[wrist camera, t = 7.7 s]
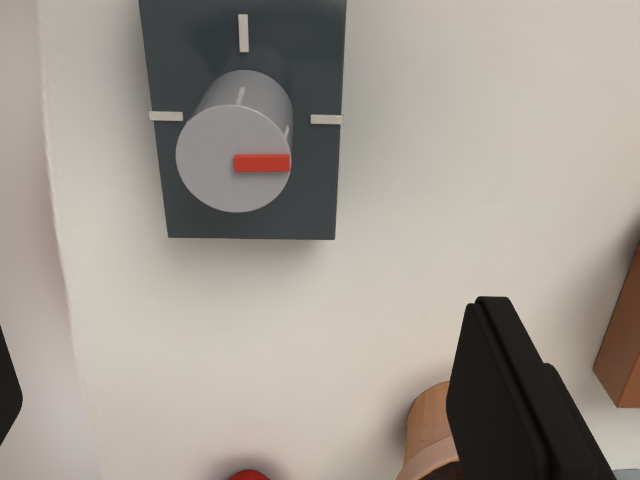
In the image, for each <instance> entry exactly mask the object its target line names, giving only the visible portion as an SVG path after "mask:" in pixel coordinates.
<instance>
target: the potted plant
mask: <svg viewBox="0 0 640 480" xmlns="http://www.w3.org/2000/svg"><path fill="white" fill-rule="evenodd" d="M449 383H450V382H445V383H441V384H438V385H435V386H433V387H432V388H430V389H428V390H426V391H425V392H424V393H423V394H422V395H420V396H419V397H418V398H417V399H416V400H415V402H414V404H413V407H412V409H411V411H410V413H409V416H408V420H407V433H408V435H407V443H406V450H405V457H404V464H403V469H402V470H401V472H400V473H399V475H398V477H397V479H396V480H465V479H464V476H463V472H462V469H461V465H460V462H459V458H458V455H457V451H456V447H455V444H454V440H453V437H452V433H451V430H450V426H449V423H448V419H447V415H446V396H447V392H448V387H449Z"/></svg>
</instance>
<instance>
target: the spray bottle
mask: <svg viewBox="0 0 640 480" xmlns="http://www.w3.org/2000/svg"><path fill="white" fill-rule="evenodd" d="M613 473H614V475H615V477H616V479H617V480H640V470H637V469H632V470H615V471H613Z"/></svg>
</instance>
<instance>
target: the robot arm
mask: <svg viewBox="0 0 640 480" xmlns="http://www.w3.org/2000/svg"><path fill="white" fill-rule="evenodd" d="M22 401H23V397H22V391H21V388H20V385H19V382H18V379H17V376H16V373H15V370H14V367H13V364H12V360H11V358H10V354H9V351H8V348H7V345H6V342H5V339H4V335H3V333H2V329H1V326H0V445H1V444H2V442H3V440H4V439H5V437H6V435H7V433H8V432H9V430H10V428H11V426H12V424H13V423H14V421H15V419H16V418H17V416H18V414H19V412H20V410H21V407H22ZM446 415H447V419H448V423H449V426H450V430H451V433H452V437H453V440H454V444H455V447H456V451H457V455H458V458H459V462H460V465H461V469H462V472H463V476H464V479H465V480H617V479H616V477H615V475H614V473H613V471H612V470H611V468H610V466H609V464H608V462H607V461H606V459H605V457H604V455H603V453H602V452H601V450H600V448H599V446H598V444H597V442H596V441H595V439H594V437H593V435H592V433H591V432H590V430H589V428H588V426H587V424H586V422H585V421H584V419H583V417H582V415H581V413H580V412H579V410H578V408H577V406H576V404H575V403H574V401H573V399H572V397H571V395H570V393H569V392H568V390H567V388H566V386H565V384H564V383H563V381H562V379H561V377H560V375H559V373H558V372H557V370H556V369H555V368H554V366H552V365H551V364H549V363H543V361H542V359H541V358H540V356H539V354H538V352H537V350H536V348H535V346H534V344H533V343H532V341H531V339H530V337H529V335H528V333H527V331H526V329H525V327H524V326H523V324H522V322H521V320H520V318H519V316H518V314H517V312H516V310H515V309H514V307H513V305H512V303H511V301H510V300H509V298H507V297H487V296H479V297H477V299H476V301H475V303H469V304H467V306H466V309H465V314H464V318H463V323H462V327H461V332H460V337H459V341H458V346H457V350H456V355H455V360H454V364H453V369H452V373H451V378H450V383H449V387H448V392H447V396H446Z"/></svg>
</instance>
